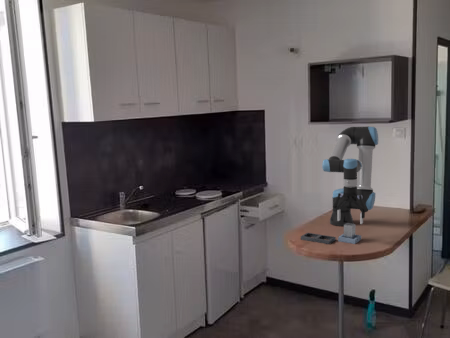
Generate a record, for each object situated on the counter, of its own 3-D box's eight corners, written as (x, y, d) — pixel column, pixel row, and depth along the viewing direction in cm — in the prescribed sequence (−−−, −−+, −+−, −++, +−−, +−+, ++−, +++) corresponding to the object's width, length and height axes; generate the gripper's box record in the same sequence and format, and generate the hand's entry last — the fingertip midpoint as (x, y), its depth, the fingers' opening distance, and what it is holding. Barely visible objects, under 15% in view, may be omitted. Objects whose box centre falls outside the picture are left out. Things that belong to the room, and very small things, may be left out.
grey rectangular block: (347, 237, 267) (347, 222, 266) (355, 238, 264) (355, 223, 263) (343, 239, 263) (343, 224, 262) (352, 241, 260) (352, 225, 259)
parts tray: (344, 237, 270) (344, 232, 270) (361, 239, 264) (361, 235, 264) (338, 241, 262) (338, 237, 262) (354, 244, 257) (355, 239, 256)
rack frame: (307, 235, 275) (307, 232, 275) (335, 240, 264) (335, 237, 264) (300, 239, 268) (300, 236, 268) (329, 244, 257) (329, 240, 257)
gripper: (327, 185, 263) (327, 220, 267) (369, 189, 249) (369, 226, 252) (332, 183, 269) (332, 217, 273) (374, 186, 255) (373, 223, 258)
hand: (350, 222), depth 262 cm, fingers open, 13 cm apart
